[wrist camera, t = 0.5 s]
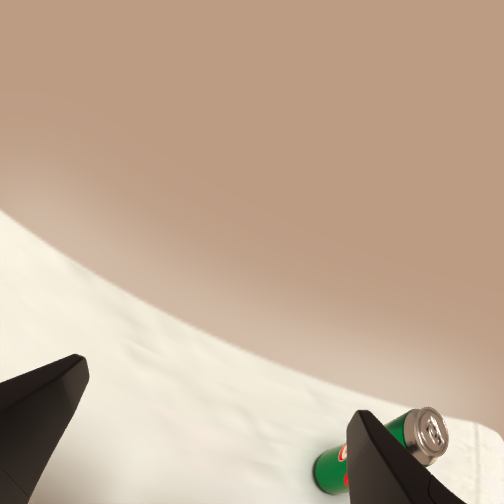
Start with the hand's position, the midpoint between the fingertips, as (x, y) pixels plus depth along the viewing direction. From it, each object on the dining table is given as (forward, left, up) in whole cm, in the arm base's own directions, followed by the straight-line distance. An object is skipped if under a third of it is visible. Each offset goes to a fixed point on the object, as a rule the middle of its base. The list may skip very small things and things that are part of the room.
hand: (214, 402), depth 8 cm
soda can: (+2, -17, -16) cm, 23 cm away
